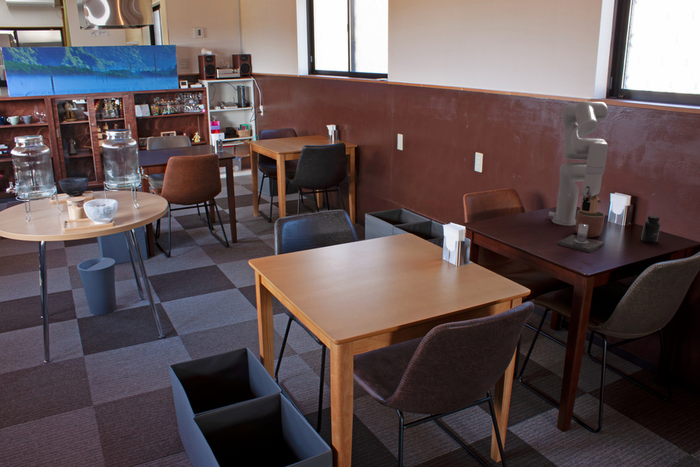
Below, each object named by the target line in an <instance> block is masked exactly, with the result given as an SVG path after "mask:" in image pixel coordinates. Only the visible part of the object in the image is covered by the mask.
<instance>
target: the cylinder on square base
mask: <svg viewBox="0 0 700 467" xmlns="http://www.w3.org/2000/svg"><path fill="white" fill-rule="evenodd" d="M587 232H588V225H587V224H579V228H578V233H577V235H575V234H570V235H568V236H567V237H565V238H562V239H560V240H558V241H557V246H562V247H565V248H570V249H575V250H578V251H582V252H586V253H592V252H594V251H596V250H598V249H599V248H601V247H603V246H604V245H605V241H602V240H597V239H593V238H590V237H587Z"/></svg>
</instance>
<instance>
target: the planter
mask: <svg viewBox="0 0 700 467" xmlns="http://www.w3.org/2000/svg"><path fill="white" fill-rule="evenodd" d="M605 218H606V214H605V213H604V212H601V211H597V212H596V213H586V212H582V211H580V209H579V210H576V216H575V220H576V225H575V233H577V234H578V228H579V224H587V225H588V232H587V238H596V237H598V236H600V235H601V233H602V231H603V227H604V224H605V223H604V221H605Z"/></svg>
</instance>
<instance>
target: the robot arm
mask: <svg viewBox="0 0 700 467" xmlns="http://www.w3.org/2000/svg"><path fill="white" fill-rule="evenodd" d="M608 114H609V108H608V106H607V104H606V103H605V102H603V101H582V102H579V103H577V104H575V103H574V104H567V105H565V106H563V109H562V110H561V123H562V127H563V131H564V138H563V157H564V158H565V159H566V160H572V161H568V162H564V163H562V164H561V165H560V167H559V187H558V193H557V194H558V195H557V202H556V203H557V204H556V211H555V212H553V211H549V212H548V216H549V217H552V219H551V222H552V223H554V224H556V225H560V226H566V227H567V226H569V227H570V226H576V216H577V209H578V208H577V207H578V200H579V194H581V196H582V197H583V204H582V210H583V211H589V210H590V200H591V197H592V196H593V197H597V198H599V196H598V195H599V193H600V192H601V187H602V180H603V175H605V174H604V173H605V168H606V162H607V156H608V149H609V144H608V142H606V140H605V139H603V138H592V137H591V138H590V137H588V138H587V137H585V136H588V135H590V134H592V133H594V132H595V131H596V130H597V129H598V126H599V123H598V122H603V121H604V120H606V119H607V117H608ZM573 160H574V161H575V162H574V161H573ZM576 160H577V162H576ZM578 161H585V162H578ZM576 182H582V187H581V191H580V189H579V187H578V185H577V183H576ZM579 191H580V192H579ZM588 197H589V199H588Z"/></svg>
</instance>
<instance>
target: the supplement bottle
mask: <svg viewBox="0 0 700 467" xmlns="http://www.w3.org/2000/svg"><path fill="white" fill-rule="evenodd" d="M660 229H661V223H660V216H658V215H652V214H651V215H650V214H649V215H648V216H647V220H646V221H644V223H643V228H642V233H641V237H640V238H641V239H640V240H641V241H642V242H644V243H650V244H656V243H657V242H658V240H659V235H660Z"/></svg>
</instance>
